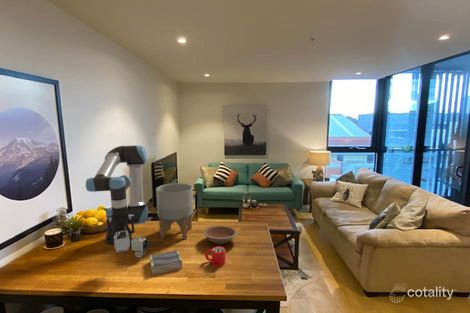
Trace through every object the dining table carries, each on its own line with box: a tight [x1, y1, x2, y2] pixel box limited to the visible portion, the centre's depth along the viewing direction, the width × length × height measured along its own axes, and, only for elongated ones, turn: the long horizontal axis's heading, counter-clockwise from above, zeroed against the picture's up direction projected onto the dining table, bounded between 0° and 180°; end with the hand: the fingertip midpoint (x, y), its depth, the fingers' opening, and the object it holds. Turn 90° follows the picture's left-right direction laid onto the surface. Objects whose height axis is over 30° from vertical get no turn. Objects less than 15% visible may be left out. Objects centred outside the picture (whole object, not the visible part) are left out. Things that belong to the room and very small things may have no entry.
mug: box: [204, 246, 226, 267], centre depth 151 cm, size 8×12×8 cm, turn 86°
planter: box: [156, 182, 194, 240], centre depth 187 cm, size 25×25×34 cm
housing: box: [115, 231, 130, 254], centre depth 142 cm, size 10×6×7 cm, turn 23°
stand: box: [149, 248, 183, 276], centre depth 148 cm, size 14×16×5 cm
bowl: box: [202, 224, 239, 245], centre depth 176 cm, size 24×24×8 cm
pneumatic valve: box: [129, 236, 151, 258], centre depth 158 cm, size 6×12×12 cm, turn 78°
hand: (122, 246), depth 142 cm, fingers closed on housing, 6 cm apart
